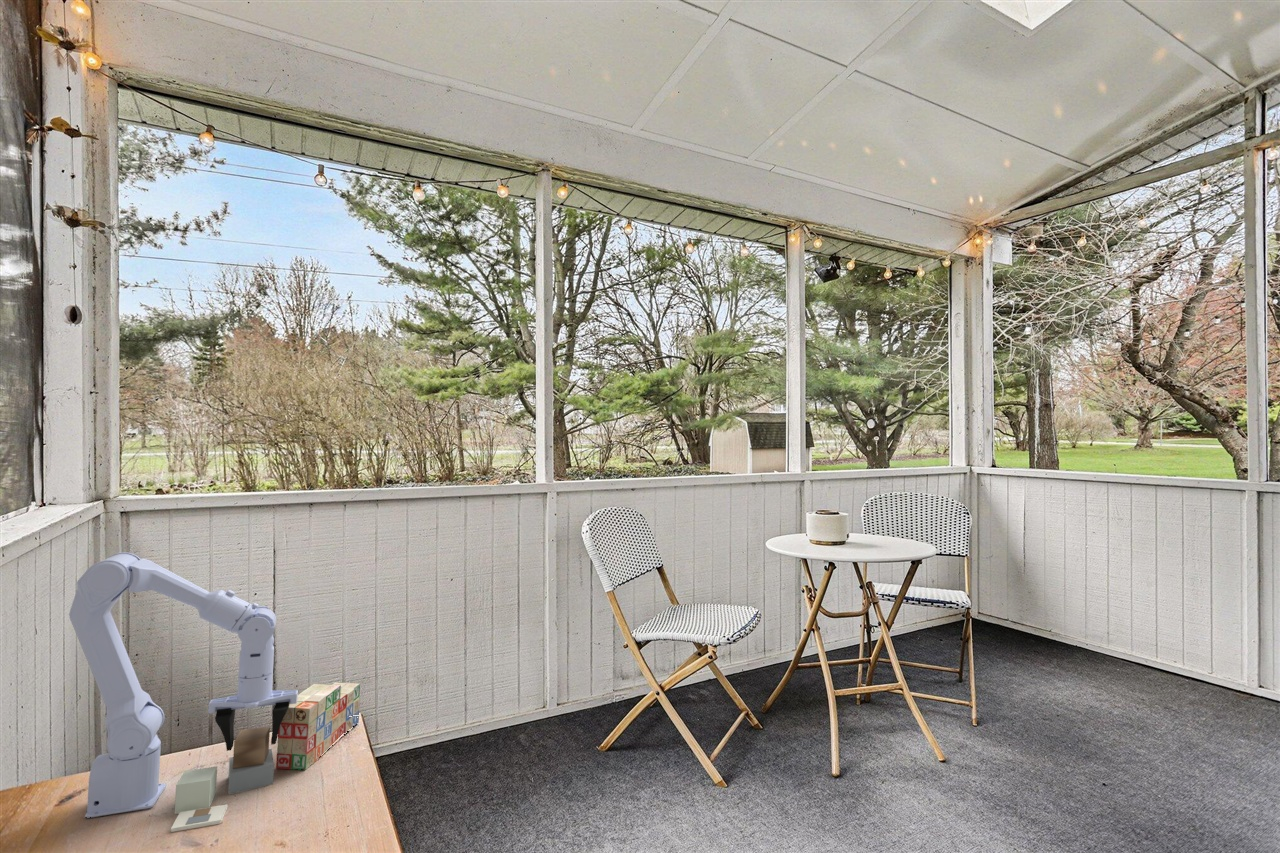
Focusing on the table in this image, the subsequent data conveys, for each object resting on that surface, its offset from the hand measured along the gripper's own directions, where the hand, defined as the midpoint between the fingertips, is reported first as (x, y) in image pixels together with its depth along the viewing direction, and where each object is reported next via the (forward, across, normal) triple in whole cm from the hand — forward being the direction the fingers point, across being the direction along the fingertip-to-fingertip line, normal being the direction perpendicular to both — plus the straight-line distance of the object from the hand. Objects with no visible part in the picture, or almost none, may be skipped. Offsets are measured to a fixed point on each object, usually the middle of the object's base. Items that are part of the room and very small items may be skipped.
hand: (252, 745), depth 119 cm
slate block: (+7, 0, 0) cm, 7 cm away
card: (+7, -6, -12) cm, 14 cm away
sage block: (+7, -8, -6) cm, 11 cm away
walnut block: (+3, 0, 0) cm, 3 cm away
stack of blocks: (+7, +11, +12) cm, 17 cm away
